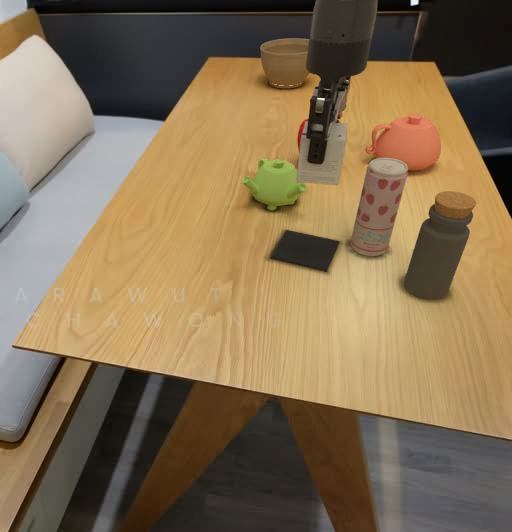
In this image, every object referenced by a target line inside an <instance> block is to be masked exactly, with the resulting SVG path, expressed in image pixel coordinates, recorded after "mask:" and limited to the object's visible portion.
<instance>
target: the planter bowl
mask: <svg viewBox="0 0 512 532" xmlns="http://www.w3.org/2000/svg"><path fill="white" fill-rule="evenodd" d="M308 46H309V39H308V38H296V37H295V38H294V37H292V38H291V37H290V38H278V39H273V40H269V41H266V42H264V43H262V44H261V45H260V48H259V50H260V61H261V66H262V69H263V72H264V75H265V76H266V78H267V79H268V81H269V82H268V83H269V85H270V86H271V87H273V88H277V89H293V88H298V87H301V86H302V85H303V84H304V82H305V79H306V78H307V77H308V76H309V75H310V74H311V73H310V72H308V70H307V69H306V61H307V53H308ZM303 81H304V82H303ZM270 82H271V83H270ZM302 82H303V83H302ZM272 83H273V84H272ZM300 83H301V84H300ZM274 84H277V85H274ZM297 84H298V85H297ZM279 85H284V86H279ZM289 85H293V86H289Z"/></svg>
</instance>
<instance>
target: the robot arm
mask: <svg viewBox="0 0 512 532" xmlns="http://www.w3.org/2000/svg"><path fill="white" fill-rule="evenodd" d="M377 13H378V0H315V3H314V6H313V11H312V15H311V22H310V30H309V31H310V32H309V46H308V53H307V61H306V69H307V70H308V72H310V73H309V74H311V75H313V76H317V77H319V78H320V80H319V82H318V85H315V86H314V89H313V93H312V96H311V97H310V99H309V110H308V118H307V119H308V126H307V133H306V139H310V145H309V152H308V159H307V161H308V162H309V163H313V164H319V165H320V164H323V162H324V160H325V154H326V148H327V142H328V138H329V137H330V130H331V126H332V124H334V123H339V122H340V120H341V119H342V117H343V114H344V113H343V112H344V111H345V109H346V108H347V102H348V94H349V91H350V88H351V79H352V77H355V76H358V75H360V74H362V73H363V72H364V71H365V70H366V69H367V66H368V60H369V54H370V50H371V45H372V40H373V35H374V30H375V24H376V19H377V15H378V14H377ZM317 124H319V125H322V126H323V130H322V131H321V130H316V126H317Z"/></svg>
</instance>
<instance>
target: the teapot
mask: <svg viewBox="0 0 512 532" xmlns="http://www.w3.org/2000/svg"><path fill="white" fill-rule="evenodd" d="M296 179H297V168H296V166H295V165H294V164H293V163H292V162H290V161H286V160H284V159H282V158H276V159H273V160H269V159H268V158H261V159H259V161H258V170H257V171H256V172H255V174H254V175H253V178H251V176H249V175H246V176H244V177H242V180H241V182H242V184H243V185H244V186H245V187H246V188H247V189H248V190H250V193H251V195H252V196H253V198H254V199H255V200H256V201H258V202H259V203H261V204H264V205H267V206H266V208H267V210H270V211H275V210H276V209H277V207H280V206H281V207H282V206H287V205H294V204H295V203H296V202H295V201H296V200H297V199H299V198H300V197H301V196H302V193H304V192H305V191H307V185H306V183H300V182H296Z"/></svg>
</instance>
